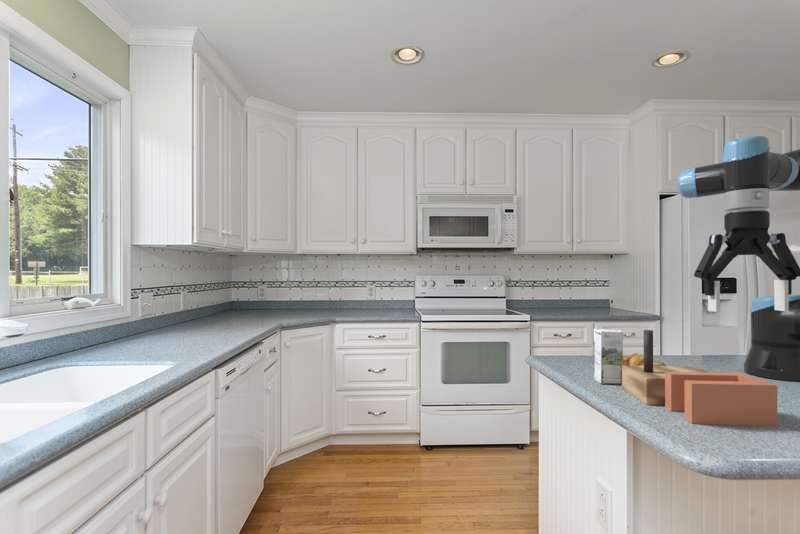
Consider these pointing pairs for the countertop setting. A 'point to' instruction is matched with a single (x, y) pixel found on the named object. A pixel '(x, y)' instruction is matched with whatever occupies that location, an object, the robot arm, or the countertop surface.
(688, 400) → the c link
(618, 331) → the syrup box
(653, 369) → the stand
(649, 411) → the countertop surface
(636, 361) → the croissant
